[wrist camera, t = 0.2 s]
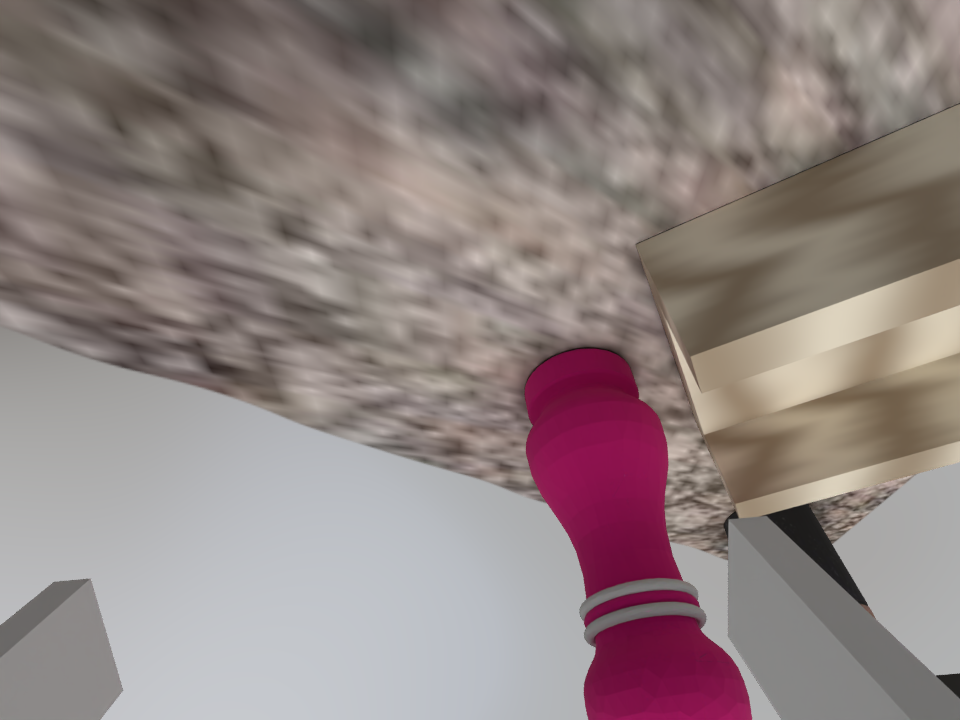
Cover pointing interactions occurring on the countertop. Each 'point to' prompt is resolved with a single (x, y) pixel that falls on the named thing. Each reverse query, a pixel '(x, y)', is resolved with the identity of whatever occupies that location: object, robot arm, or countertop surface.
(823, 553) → the travel mug
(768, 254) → the u rest
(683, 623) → the pepper mill
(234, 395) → the countertop surface
